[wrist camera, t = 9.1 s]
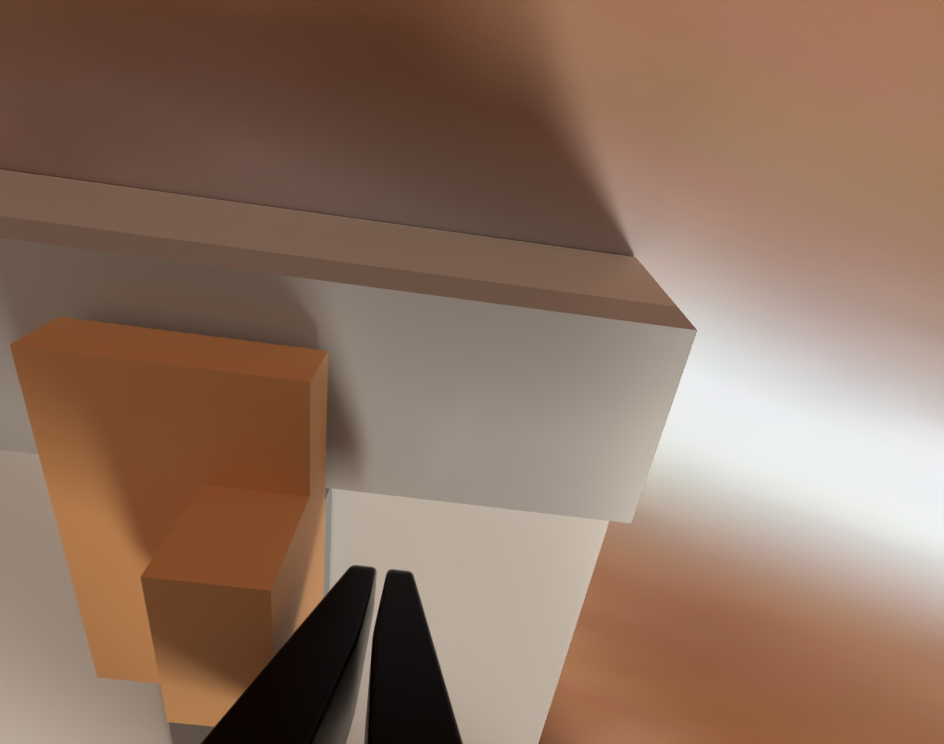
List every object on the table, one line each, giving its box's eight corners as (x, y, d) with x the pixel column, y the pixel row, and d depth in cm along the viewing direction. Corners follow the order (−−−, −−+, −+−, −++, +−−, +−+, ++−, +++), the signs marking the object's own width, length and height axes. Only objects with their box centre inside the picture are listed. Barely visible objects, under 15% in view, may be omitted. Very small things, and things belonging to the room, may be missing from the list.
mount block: (491, 789, 22) (493, 997, 17) (91, 751, 21) (-28, 957, 16) (635, 257, 12) (738, 379, 7) (-86, 157, 12) (-511, 217, 7)
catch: (322, 652, 12) (279, 804, 9) (126, 631, 12) (30, 781, 9) (328, 350, 9) (265, 461, 6) (59, 317, 9) (-117, 415, 6)
